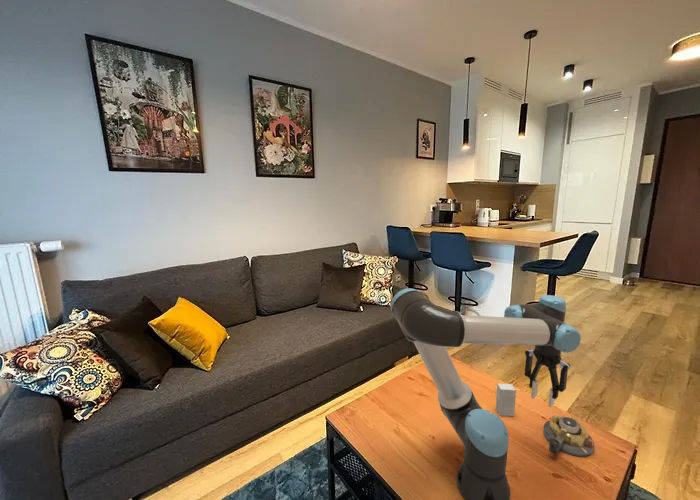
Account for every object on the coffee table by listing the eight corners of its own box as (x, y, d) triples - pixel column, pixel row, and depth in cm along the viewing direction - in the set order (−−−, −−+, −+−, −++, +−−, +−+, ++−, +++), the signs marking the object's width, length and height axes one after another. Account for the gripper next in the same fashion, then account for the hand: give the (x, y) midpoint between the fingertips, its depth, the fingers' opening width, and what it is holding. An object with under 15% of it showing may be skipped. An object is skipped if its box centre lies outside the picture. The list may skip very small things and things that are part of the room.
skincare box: (510, 409, 127) (512, 383, 125) (514, 416, 123) (516, 390, 121) (495, 408, 128) (496, 383, 125) (498, 415, 123) (500, 389, 121)
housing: (584, 464, 101) (587, 444, 99) (536, 436, 113) (537, 418, 111) (599, 442, 109) (602, 424, 108) (553, 418, 121) (555, 401, 120)
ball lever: (570, 464, 98) (571, 453, 98) (534, 442, 107) (535, 432, 106) (591, 436, 109) (592, 426, 108) (557, 418, 118) (558, 409, 117)
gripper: (584, 347, 98) (576, 410, 102) (526, 328, 113) (521, 384, 117) (575, 354, 94) (567, 420, 98) (516, 334, 108) (511, 392, 112)
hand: (542, 400), depth 107 cm, fingers open, 5 cm apart
